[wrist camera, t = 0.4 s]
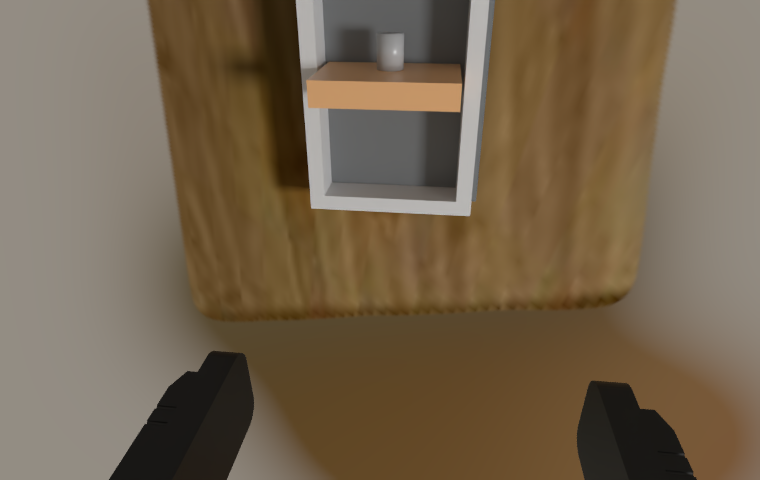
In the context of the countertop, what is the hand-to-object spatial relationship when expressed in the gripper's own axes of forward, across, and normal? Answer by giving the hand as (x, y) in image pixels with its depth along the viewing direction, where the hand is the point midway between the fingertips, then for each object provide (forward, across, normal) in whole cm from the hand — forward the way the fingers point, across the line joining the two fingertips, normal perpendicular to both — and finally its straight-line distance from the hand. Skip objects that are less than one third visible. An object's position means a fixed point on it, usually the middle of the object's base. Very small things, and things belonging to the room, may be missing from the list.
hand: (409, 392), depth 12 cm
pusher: (+25, +3, -3) cm, 25 cm away
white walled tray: (+26, +3, -2) cm, 27 cm away
